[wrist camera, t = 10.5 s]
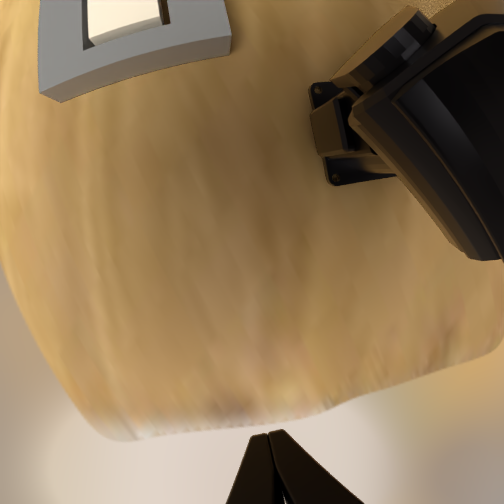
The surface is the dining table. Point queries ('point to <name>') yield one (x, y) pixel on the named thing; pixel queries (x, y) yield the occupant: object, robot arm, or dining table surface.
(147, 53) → the panel
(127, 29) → the cream button
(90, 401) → the dining table surface
